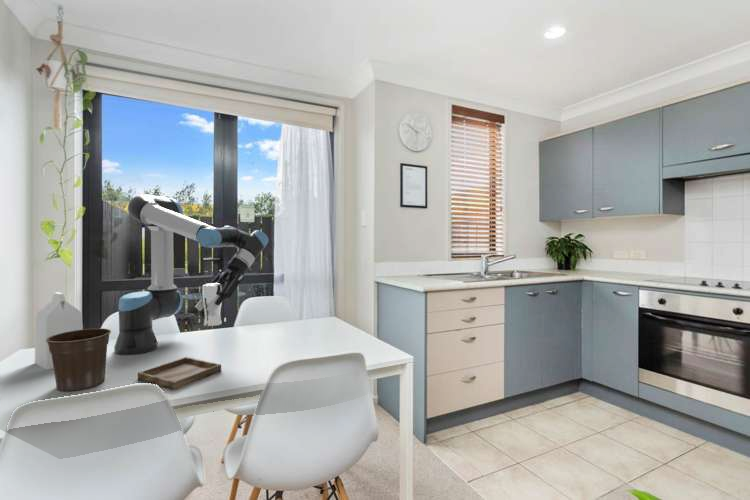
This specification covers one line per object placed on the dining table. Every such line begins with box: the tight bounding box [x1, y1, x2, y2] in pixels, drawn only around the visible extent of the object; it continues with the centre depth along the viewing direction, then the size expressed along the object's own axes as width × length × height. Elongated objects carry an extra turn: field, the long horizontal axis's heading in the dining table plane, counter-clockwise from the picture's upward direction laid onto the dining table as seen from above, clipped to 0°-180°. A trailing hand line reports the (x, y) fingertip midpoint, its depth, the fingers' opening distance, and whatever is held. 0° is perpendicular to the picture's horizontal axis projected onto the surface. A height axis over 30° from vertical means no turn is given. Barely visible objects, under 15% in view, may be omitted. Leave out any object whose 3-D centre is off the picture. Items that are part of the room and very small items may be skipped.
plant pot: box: [46, 327, 112, 392], centre depth 119 cm, size 16×16×16 cm
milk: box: [34, 291, 84, 371], centre depth 139 cm, size 12×12×26 cm
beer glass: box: [201, 283, 223, 327], centre depth 139 cm, size 7×7×15 cm
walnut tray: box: [137, 356, 222, 391], centre depth 127 cm, size 18×18×2 cm
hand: (203, 310), depth 136 cm, fingers closed on beer glass, 7 cm apart
